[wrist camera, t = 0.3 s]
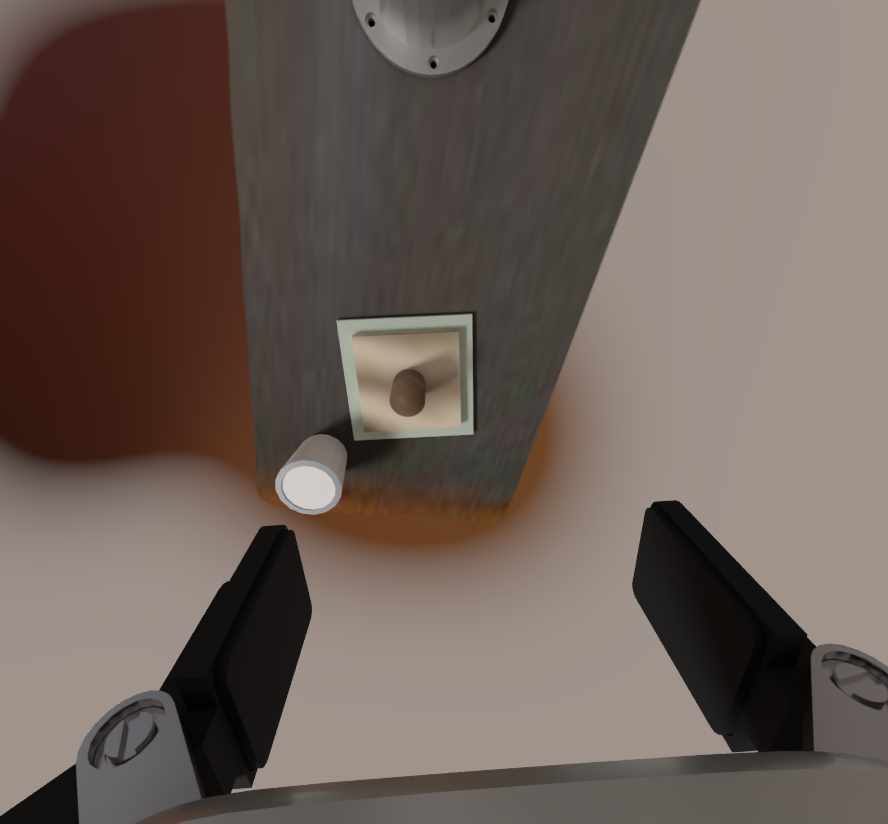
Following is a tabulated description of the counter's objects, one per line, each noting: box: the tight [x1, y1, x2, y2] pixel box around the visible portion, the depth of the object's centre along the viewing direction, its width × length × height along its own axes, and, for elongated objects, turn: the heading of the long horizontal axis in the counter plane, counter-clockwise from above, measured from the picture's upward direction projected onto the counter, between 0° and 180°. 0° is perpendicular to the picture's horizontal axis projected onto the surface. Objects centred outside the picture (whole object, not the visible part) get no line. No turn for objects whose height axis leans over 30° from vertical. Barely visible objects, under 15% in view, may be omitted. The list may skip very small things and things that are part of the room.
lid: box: [352, 330, 461, 432], centre depth 42 cm, size 11×11×6 cm
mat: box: [337, 313, 473, 441], centre depth 45 cm, size 14×14×1 cm
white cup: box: [276, 434, 347, 514], centre depth 46 cm, size 7×7×7 cm
